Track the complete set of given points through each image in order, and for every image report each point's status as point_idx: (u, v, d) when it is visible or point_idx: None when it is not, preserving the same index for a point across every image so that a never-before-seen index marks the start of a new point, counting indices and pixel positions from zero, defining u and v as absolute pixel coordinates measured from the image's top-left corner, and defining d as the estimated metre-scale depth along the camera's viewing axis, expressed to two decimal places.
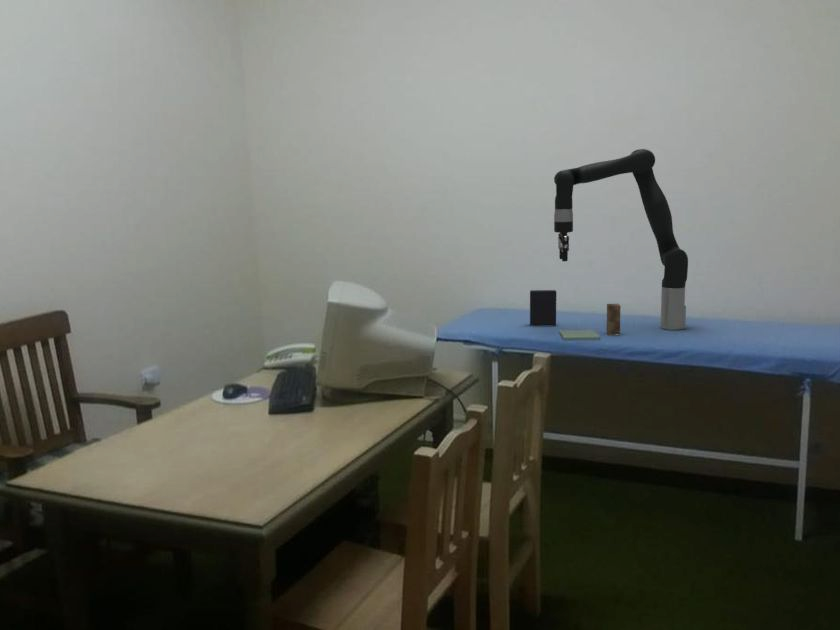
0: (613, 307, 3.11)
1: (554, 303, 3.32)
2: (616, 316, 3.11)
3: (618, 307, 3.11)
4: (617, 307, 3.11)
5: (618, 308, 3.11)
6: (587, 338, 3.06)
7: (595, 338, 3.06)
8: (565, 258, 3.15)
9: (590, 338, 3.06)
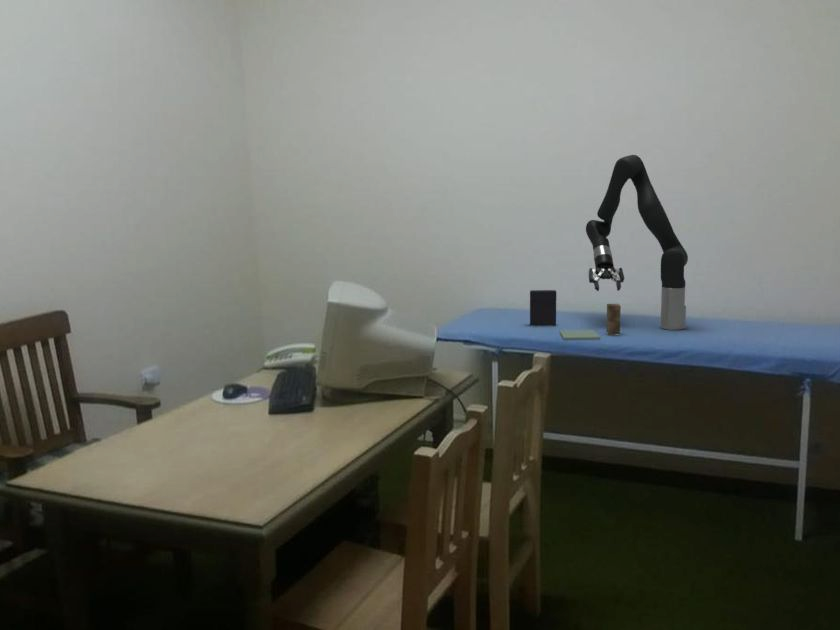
0: (613, 307, 3.11)
1: (554, 303, 3.32)
2: (616, 316, 3.11)
3: (618, 307, 3.11)
4: (617, 307, 3.11)
5: (618, 308, 3.11)
6: (587, 338, 3.06)
7: (595, 338, 3.06)
8: (595, 287, 3.24)
9: (590, 338, 3.06)
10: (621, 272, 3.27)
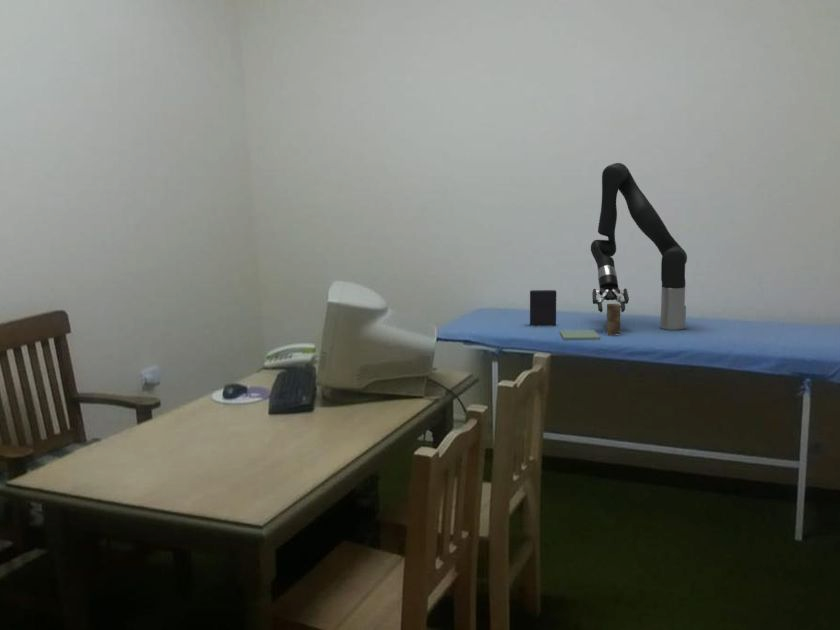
0: (613, 307, 3.11)
1: (554, 303, 3.32)
2: (616, 316, 3.11)
3: (618, 307, 3.11)
4: (617, 307, 3.11)
5: (618, 308, 3.11)
6: (587, 338, 3.06)
7: (595, 338, 3.06)
8: (598, 308, 3.16)
9: (590, 338, 3.06)
10: (626, 293, 3.19)
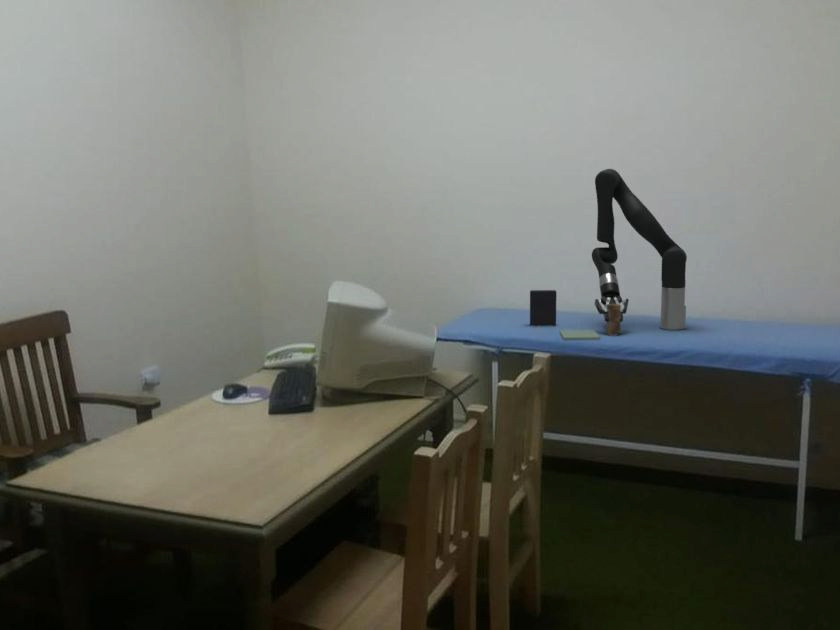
0: (613, 307, 3.11)
1: (554, 303, 3.32)
2: (616, 316, 3.11)
3: (618, 307, 3.11)
4: (617, 307, 3.11)
5: (618, 308, 3.11)
6: (587, 338, 3.06)
7: (595, 338, 3.06)
8: (605, 318, 3.13)
9: (590, 338, 3.06)
10: (626, 303, 3.15)
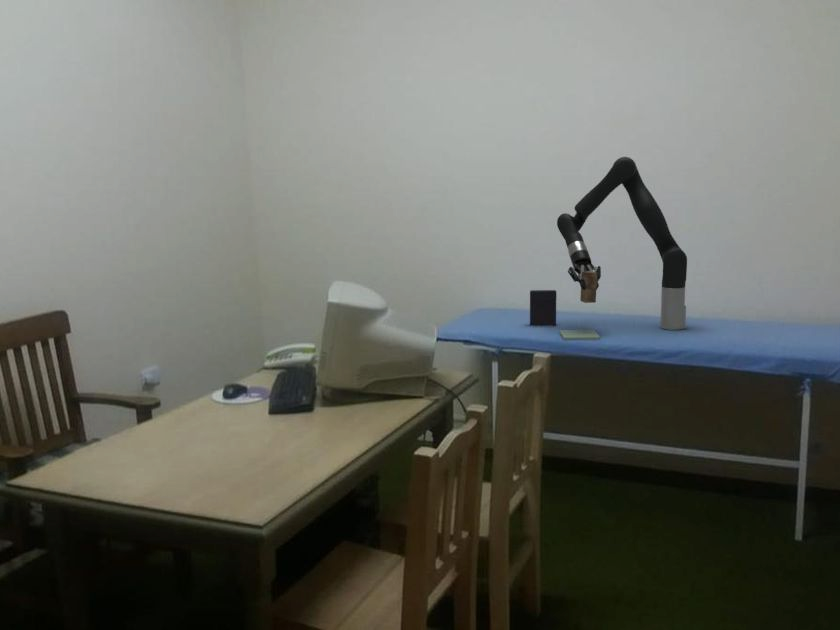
0: (590, 274, 3.08)
1: (554, 303, 3.32)
2: (592, 283, 3.09)
3: (595, 274, 3.09)
4: (594, 274, 3.08)
5: (595, 275, 3.09)
6: (587, 338, 3.06)
7: (595, 338, 3.06)
8: (581, 286, 3.09)
9: (590, 338, 3.06)
10: (599, 270, 3.14)
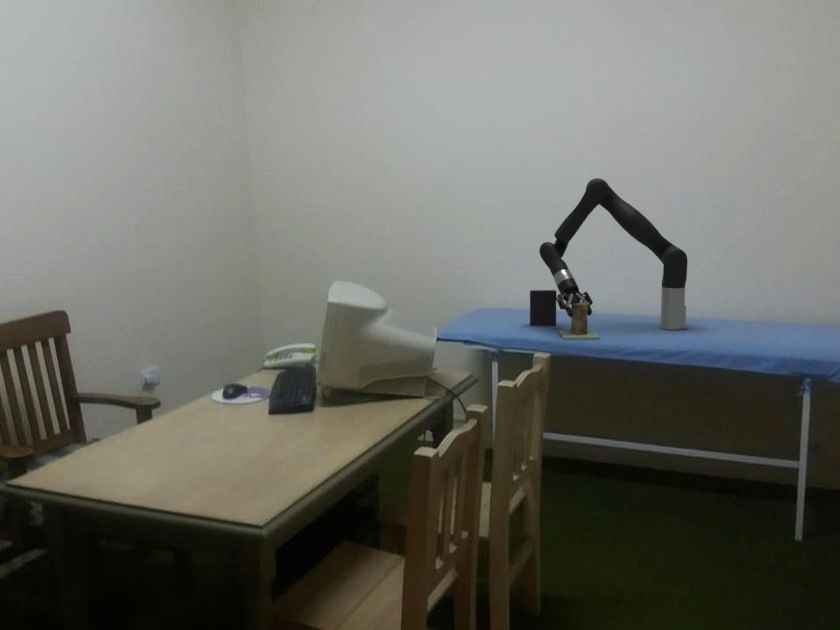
0: (581, 306, 3.08)
1: (554, 303, 3.32)
2: (583, 315, 3.09)
3: (585, 306, 3.09)
4: (585, 306, 3.09)
5: (585, 307, 3.09)
6: (587, 338, 3.06)
7: (595, 338, 3.06)
8: (569, 313, 3.09)
9: (590, 338, 3.06)
10: (588, 296, 3.15)
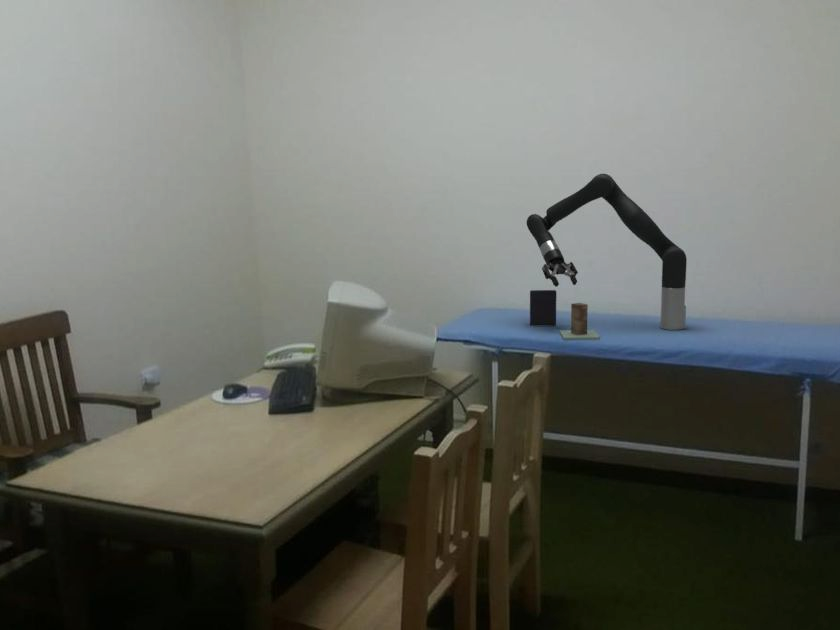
0: (581, 306, 3.08)
1: (554, 303, 3.32)
2: (583, 315, 3.09)
3: (585, 306, 3.09)
4: (585, 306, 3.09)
5: (585, 307, 3.09)
6: (587, 338, 3.06)
7: (595, 338, 3.06)
8: (554, 283, 3.16)
9: (590, 338, 3.06)
10: (573, 266, 3.23)
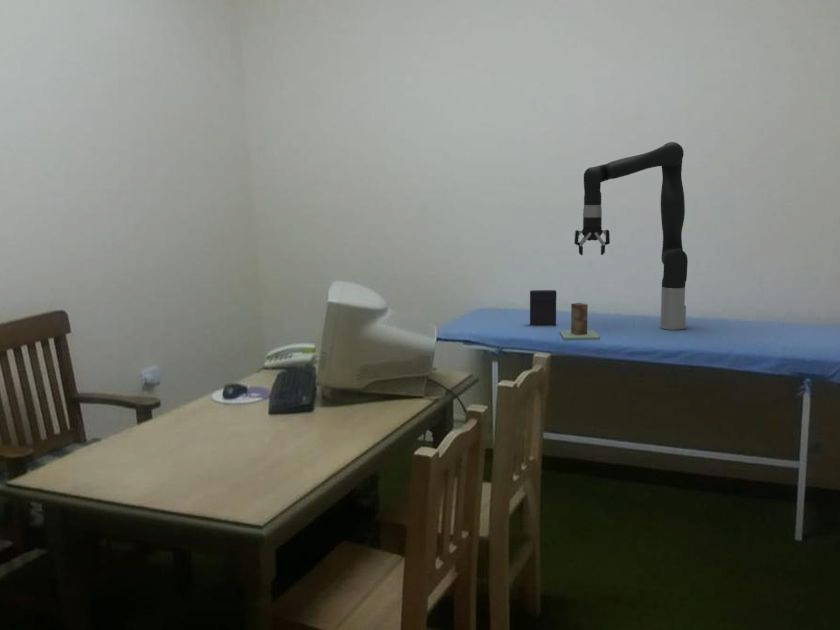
0: (581, 306, 3.08)
1: (554, 303, 3.32)
2: (583, 315, 3.09)
3: (585, 306, 3.09)
4: (585, 306, 3.09)
5: (585, 307, 3.09)
6: (587, 338, 3.06)
7: (595, 338, 3.06)
8: (579, 252, 3.27)
9: (590, 338, 3.06)
10: (607, 235, 3.25)
